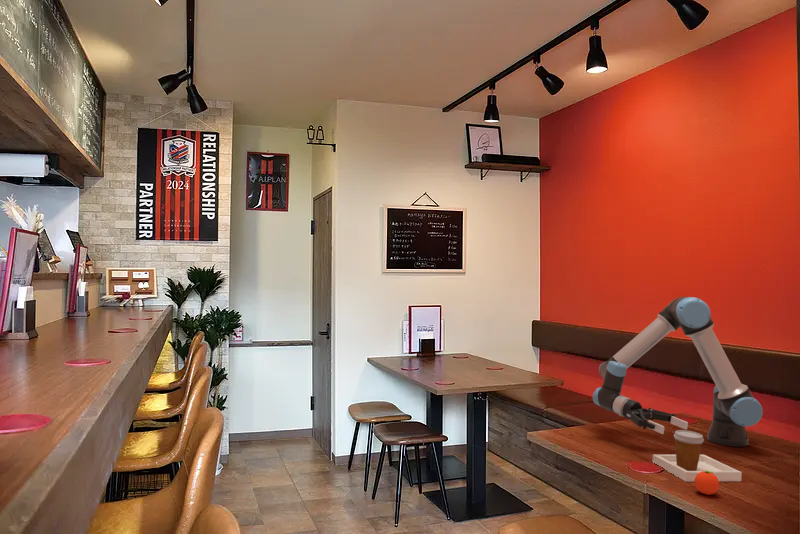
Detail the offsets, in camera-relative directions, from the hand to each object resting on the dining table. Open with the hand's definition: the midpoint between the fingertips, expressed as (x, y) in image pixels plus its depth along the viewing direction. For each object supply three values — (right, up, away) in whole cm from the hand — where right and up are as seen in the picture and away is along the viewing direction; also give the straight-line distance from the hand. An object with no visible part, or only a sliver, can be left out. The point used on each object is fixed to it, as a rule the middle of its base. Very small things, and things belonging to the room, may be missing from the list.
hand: (675, 428), depth 228 cm
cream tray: (+1, -12, -12) cm, 17 cm away
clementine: (-5, -12, -34) cm, 37 cm away
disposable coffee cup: (-2, -11, -12) cm, 16 cm away
